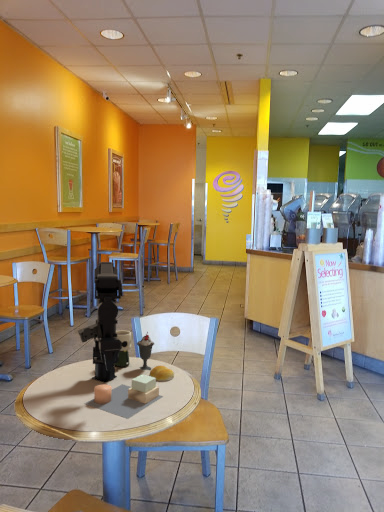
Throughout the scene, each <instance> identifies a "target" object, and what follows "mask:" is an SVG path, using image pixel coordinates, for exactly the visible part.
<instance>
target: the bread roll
mask: <svg viewBox="0 0 384 512" xmlns="http://www.w3.org/2000/svg"><path fill="white" fill-rule="evenodd" d="M149 376H151V377H154V378H156V382H168V381H171V380H174V378H175V372H174V370H173V369H170V368H168V367H166V366H165V365H156V366H154V367H152V368H151V370H149Z"/></svg>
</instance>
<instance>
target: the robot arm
mask: <svg viewBox="0 0 384 512" xmlns="http://www.w3.org/2000/svg"><path fill="white" fill-rule="evenodd" d="M93 270H94V272H93V273H94V274H93V275H94V276H93V283H94V300H98V301H97V318H96V319H95V323H94V324H91V325H90V324H89V325H88V326H85V327H83V328H81V329H78V330H77V333H78V334H79V335H78V336H79V338H80V341H81V343H86V342H87V341H89V340H92V339H93V341H94V346H93V347H92V365H94V376H93V377H91V379H92V380H94V381H97V382H101V383H107V382H110V381H112V380H114V379H117V377H118V376H117V375H116V366H115V365H114V363H117V362H118V361H119V351H120V350H121V349H122V342H121V341H120V340H119V339H118V338H117V333H116V331H117V324H118V322H119V321H118V319H117V316H118V315H119V308H118V305H117V304H118V303H117V300H118V299H119V300H120V299H121V298H122V296H123V283H122V281H121V279H120V278H119V277H118V273H119V271H118V268H117V267H115V266H114V262H112V261H101V262H99V264H98V266H97V267H96V268H95V269H93Z"/></svg>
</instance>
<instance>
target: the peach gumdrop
mask: <svg viewBox="0 0 384 512" xmlns="http://www.w3.org/2000/svg"><path fill="white" fill-rule="evenodd" d="M112 389H113V387H112V386H111V385H110V384H105V383H103V384H97V385H95V386H94V391H93V392H94V393H93V394H94V396H93V399H94V402H95V403H98V404H105V403H109V402H110V401H111V391H112Z"/></svg>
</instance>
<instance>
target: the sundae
mask: <svg viewBox="0 0 384 512" xmlns="http://www.w3.org/2000/svg"><path fill="white" fill-rule="evenodd" d="M148 333H149V332H148V331H146V333H145V335H144V336H142V338H141V340H139V341H137V342H136V346H138V349H139V350H138V351H139V358H140V359H142V361H143V363H142V366H140V367H138V368H139V369H140V370H142V371H151V370H152V367H151V366H148V365H147V363H148V360H149V359H150V358H151V356H152V351H153V350H152V349H153V346H154V345H155V342H154V341H153V340H152V339H151V337H150V335H149V334H148Z"/></svg>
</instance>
